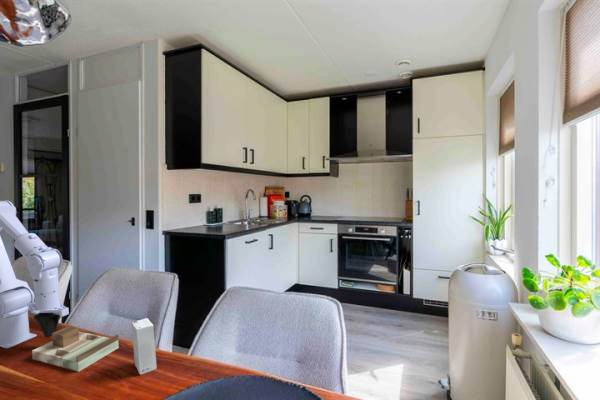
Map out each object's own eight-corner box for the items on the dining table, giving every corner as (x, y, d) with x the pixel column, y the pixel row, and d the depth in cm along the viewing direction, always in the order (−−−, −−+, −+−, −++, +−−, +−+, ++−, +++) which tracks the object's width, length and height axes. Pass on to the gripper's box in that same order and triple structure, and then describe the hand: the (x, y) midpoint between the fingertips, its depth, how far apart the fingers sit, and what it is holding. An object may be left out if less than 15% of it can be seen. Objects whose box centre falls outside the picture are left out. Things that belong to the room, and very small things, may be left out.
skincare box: (157, 369, 83) (155, 324, 82) (138, 376, 80) (136, 330, 79) (151, 358, 87) (149, 316, 86) (133, 365, 84) (130, 321, 84)
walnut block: (52, 345, 90) (51, 333, 90) (68, 337, 94) (67, 326, 94) (63, 347, 89) (62, 335, 88) (79, 340, 93) (78, 328, 93)
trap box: (32, 359, 88) (31, 345, 87) (75, 338, 99) (74, 325, 99) (78, 371, 82) (77, 356, 82) (118, 347, 93) (118, 334, 93)
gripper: (15, 293, 91) (18, 338, 92) (49, 299, 87) (52, 346, 88) (41, 285, 98) (44, 327, 99) (74, 290, 93) (77, 334, 94)
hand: (50, 335), depth 94 cm, fingers closed
